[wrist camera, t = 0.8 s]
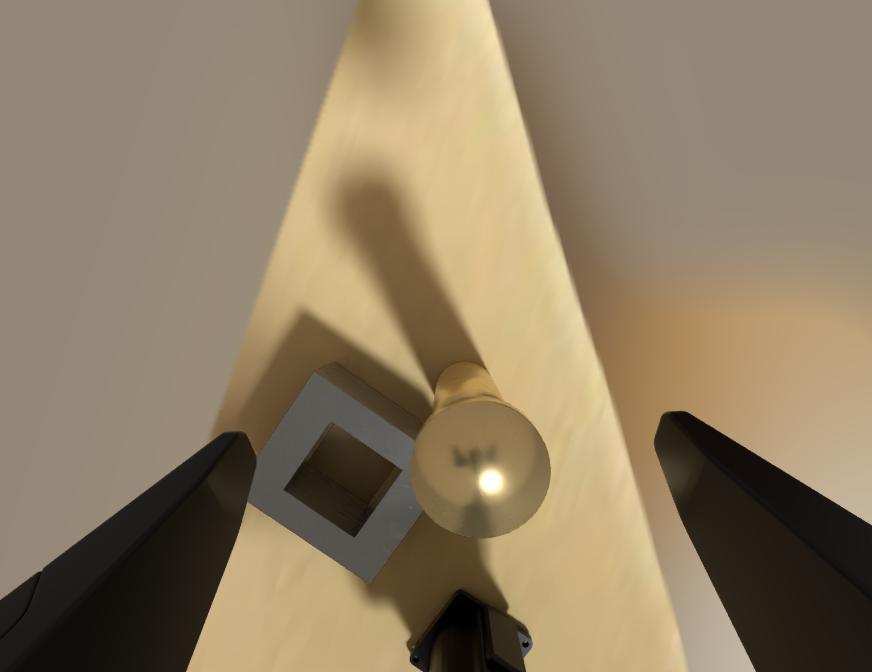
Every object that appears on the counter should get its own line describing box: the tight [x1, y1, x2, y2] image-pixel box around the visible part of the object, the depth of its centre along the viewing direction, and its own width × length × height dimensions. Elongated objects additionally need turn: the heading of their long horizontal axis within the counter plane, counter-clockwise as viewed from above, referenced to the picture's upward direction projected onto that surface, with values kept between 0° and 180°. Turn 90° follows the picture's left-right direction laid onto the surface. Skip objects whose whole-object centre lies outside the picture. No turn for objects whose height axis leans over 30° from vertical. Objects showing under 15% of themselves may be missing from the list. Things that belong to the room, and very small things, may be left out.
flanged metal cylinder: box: [410, 362, 551, 538], centre depth 21 cm, size 5×5×13 cm
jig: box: [247, 362, 424, 584], centre depth 26 cm, size 9×10×4 cm
